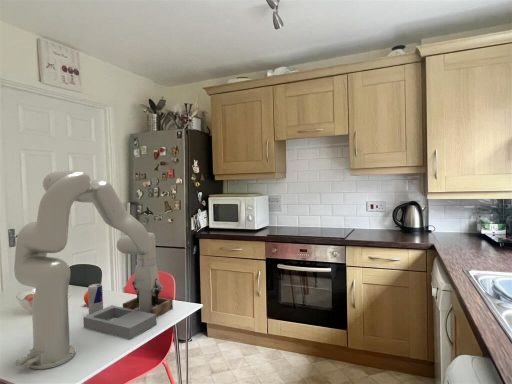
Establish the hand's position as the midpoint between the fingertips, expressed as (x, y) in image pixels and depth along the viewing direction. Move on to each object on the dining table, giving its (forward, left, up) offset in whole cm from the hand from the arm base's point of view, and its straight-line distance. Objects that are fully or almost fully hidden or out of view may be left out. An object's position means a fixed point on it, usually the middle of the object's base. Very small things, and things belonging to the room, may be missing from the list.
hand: (147, 302), depth 139 cm
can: (0, 0, -4) cm, 4 cm away
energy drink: (-11, +18, -4) cm, 21 cm away
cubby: (0, 0, -3) cm, 3 cm away
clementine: (-4, +29, -4) cm, 30 cm away
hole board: (-16, -1, -3) cm, 16 cm away
